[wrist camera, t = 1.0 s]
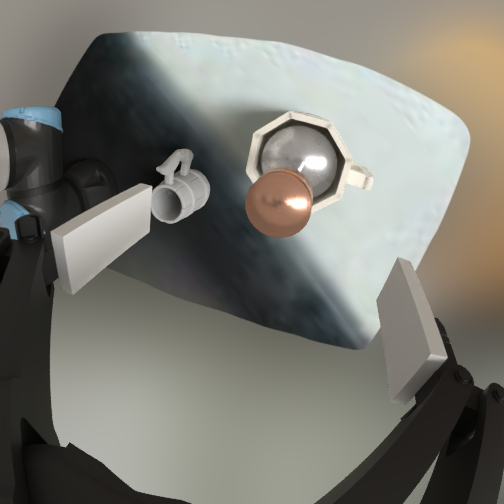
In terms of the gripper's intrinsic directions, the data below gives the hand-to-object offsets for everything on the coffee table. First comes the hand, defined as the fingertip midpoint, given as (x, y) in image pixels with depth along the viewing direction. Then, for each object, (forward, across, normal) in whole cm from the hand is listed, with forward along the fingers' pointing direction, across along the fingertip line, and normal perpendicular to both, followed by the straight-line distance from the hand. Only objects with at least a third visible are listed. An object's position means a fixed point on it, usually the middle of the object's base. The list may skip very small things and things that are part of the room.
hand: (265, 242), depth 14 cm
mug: (+35, -18, -9) cm, 40 cm away
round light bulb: (+23, 0, 0) cm, 23 cm away
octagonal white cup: (+34, +1, 0) cm, 34 cm away
